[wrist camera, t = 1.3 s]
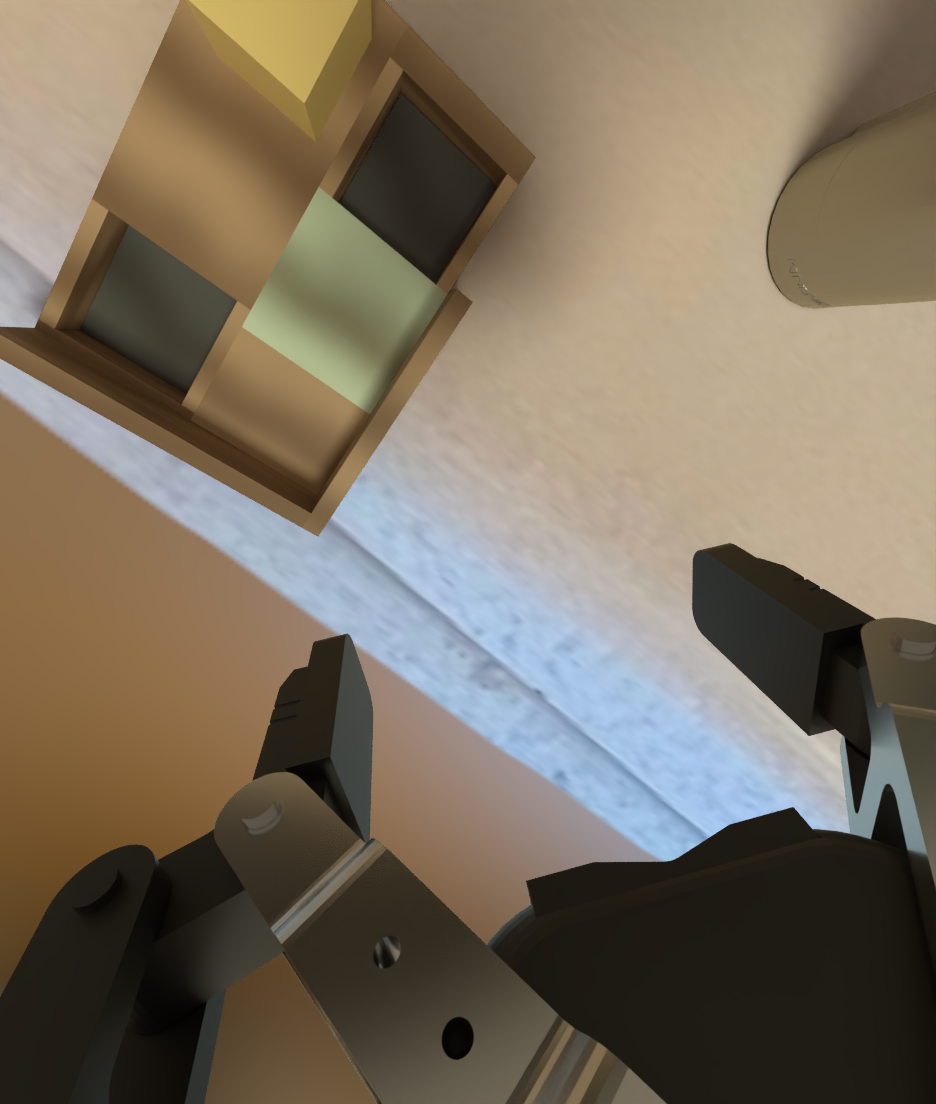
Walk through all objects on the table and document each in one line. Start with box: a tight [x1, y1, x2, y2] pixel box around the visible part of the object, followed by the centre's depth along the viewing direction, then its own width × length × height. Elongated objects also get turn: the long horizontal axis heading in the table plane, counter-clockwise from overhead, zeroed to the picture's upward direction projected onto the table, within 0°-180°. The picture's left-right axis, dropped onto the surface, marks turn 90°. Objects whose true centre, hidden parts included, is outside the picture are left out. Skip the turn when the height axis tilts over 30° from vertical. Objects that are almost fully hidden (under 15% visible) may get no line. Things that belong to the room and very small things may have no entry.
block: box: [186, 0, 372, 142], centre depth 21 cm, size 5×5×4 cm
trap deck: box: [0, 0, 536, 536], centre depth 26 cm, size 23×17×6 cm
